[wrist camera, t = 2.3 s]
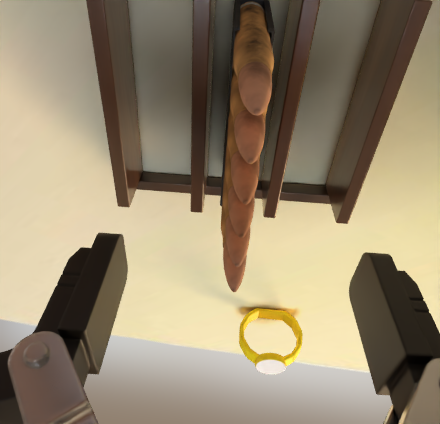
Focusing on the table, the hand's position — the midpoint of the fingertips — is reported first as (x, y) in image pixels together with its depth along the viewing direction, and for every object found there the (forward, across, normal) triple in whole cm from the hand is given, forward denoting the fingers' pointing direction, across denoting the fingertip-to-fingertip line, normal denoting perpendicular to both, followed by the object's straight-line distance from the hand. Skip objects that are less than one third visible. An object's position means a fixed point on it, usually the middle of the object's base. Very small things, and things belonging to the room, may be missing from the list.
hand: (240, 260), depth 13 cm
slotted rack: (+14, 0, 0) cm, 14 cm away
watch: (+14, -5, +23) cm, 27 cm away
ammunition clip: (+14, 0, 0) cm, 14 cm away
